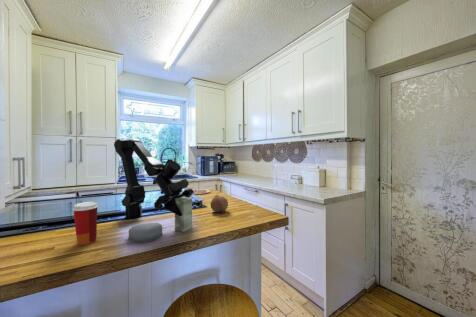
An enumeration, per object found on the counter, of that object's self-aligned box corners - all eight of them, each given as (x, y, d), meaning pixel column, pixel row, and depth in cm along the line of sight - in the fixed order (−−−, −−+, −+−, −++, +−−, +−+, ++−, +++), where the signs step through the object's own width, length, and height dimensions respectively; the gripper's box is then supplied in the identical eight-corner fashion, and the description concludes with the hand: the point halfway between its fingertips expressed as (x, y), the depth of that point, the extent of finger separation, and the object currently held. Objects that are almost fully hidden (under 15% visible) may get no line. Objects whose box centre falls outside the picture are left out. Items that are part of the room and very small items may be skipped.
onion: (213, 216, 114) (208, 198, 117) (230, 210, 116) (224, 193, 118) (213, 215, 105) (207, 196, 108) (230, 209, 107) (224, 190, 109)
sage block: (174, 229, 88) (174, 199, 87) (183, 225, 92) (183, 196, 92) (183, 231, 85) (183, 200, 85) (192, 227, 90) (192, 198, 89)
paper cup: (95, 235, 82) (94, 200, 81) (102, 241, 77) (101, 203, 76) (70, 242, 76) (69, 204, 75) (76, 249, 71) (74, 208, 70)
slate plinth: (124, 243, 75) (123, 235, 75) (134, 230, 87) (134, 223, 87) (159, 241, 77) (158, 233, 77) (164, 228, 89) (164, 221, 89)
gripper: (158, 176, 81) (180, 208, 77) (190, 171, 98) (210, 197, 93) (145, 194, 85) (165, 225, 81) (178, 186, 102) (196, 212, 97)
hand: (186, 213), depth 88 cm, fingers closed on sage block, 5 cm apart
